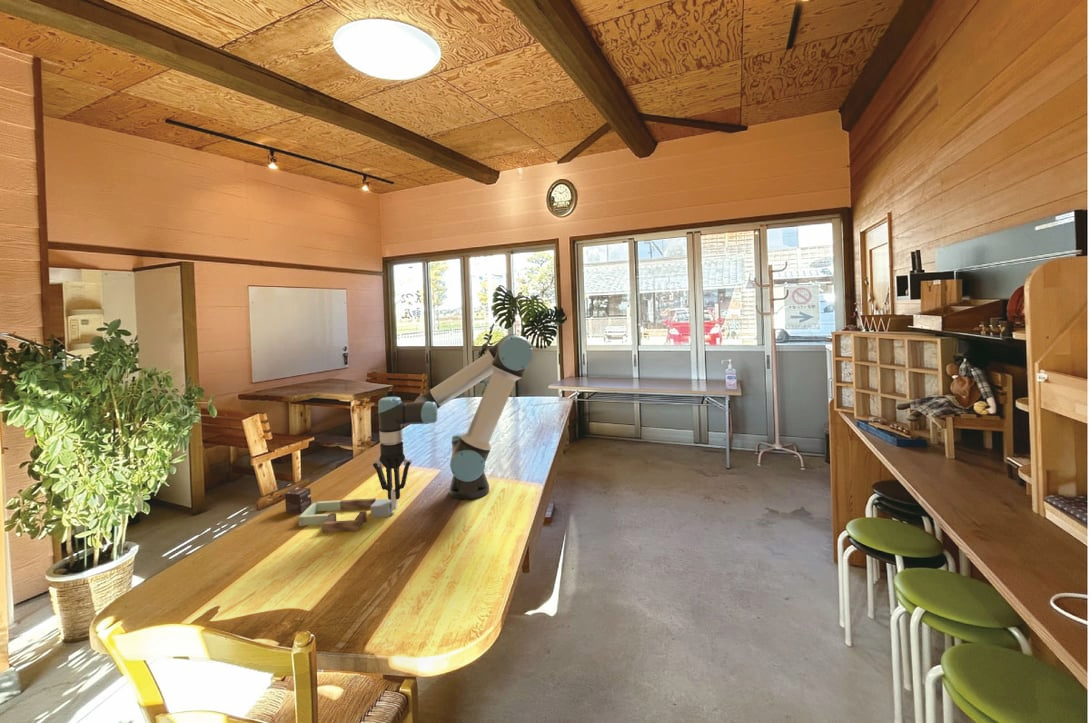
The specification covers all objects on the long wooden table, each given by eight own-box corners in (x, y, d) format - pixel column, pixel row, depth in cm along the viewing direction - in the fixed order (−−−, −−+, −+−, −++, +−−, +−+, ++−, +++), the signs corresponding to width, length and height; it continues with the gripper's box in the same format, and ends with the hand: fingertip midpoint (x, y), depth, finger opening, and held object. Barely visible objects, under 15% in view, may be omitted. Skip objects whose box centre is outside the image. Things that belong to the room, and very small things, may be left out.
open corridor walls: (376, 506, 169) (375, 498, 169) (359, 530, 150) (359, 521, 149) (341, 508, 168) (341, 500, 168) (321, 533, 149) (320, 524, 148)
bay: (341, 508, 168) (341, 500, 168) (328, 524, 155) (328, 515, 155) (314, 509, 167) (313, 501, 167) (298, 526, 154) (298, 517, 154)
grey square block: (394, 509, 166) (393, 499, 166) (388, 517, 160) (388, 505, 160) (377, 510, 166) (376, 499, 166) (371, 517, 160) (370, 506, 160)
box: (300, 514, 164) (298, 494, 163) (285, 513, 165) (283, 493, 164) (312, 507, 170) (310, 487, 169) (297, 506, 171) (296, 487, 170)
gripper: (412, 438, 165) (415, 502, 167) (375, 439, 164) (378, 504, 166) (408, 444, 158) (411, 511, 160) (369, 445, 157) (372, 513, 159)
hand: (394, 507), depth 163 cm, fingers closed
